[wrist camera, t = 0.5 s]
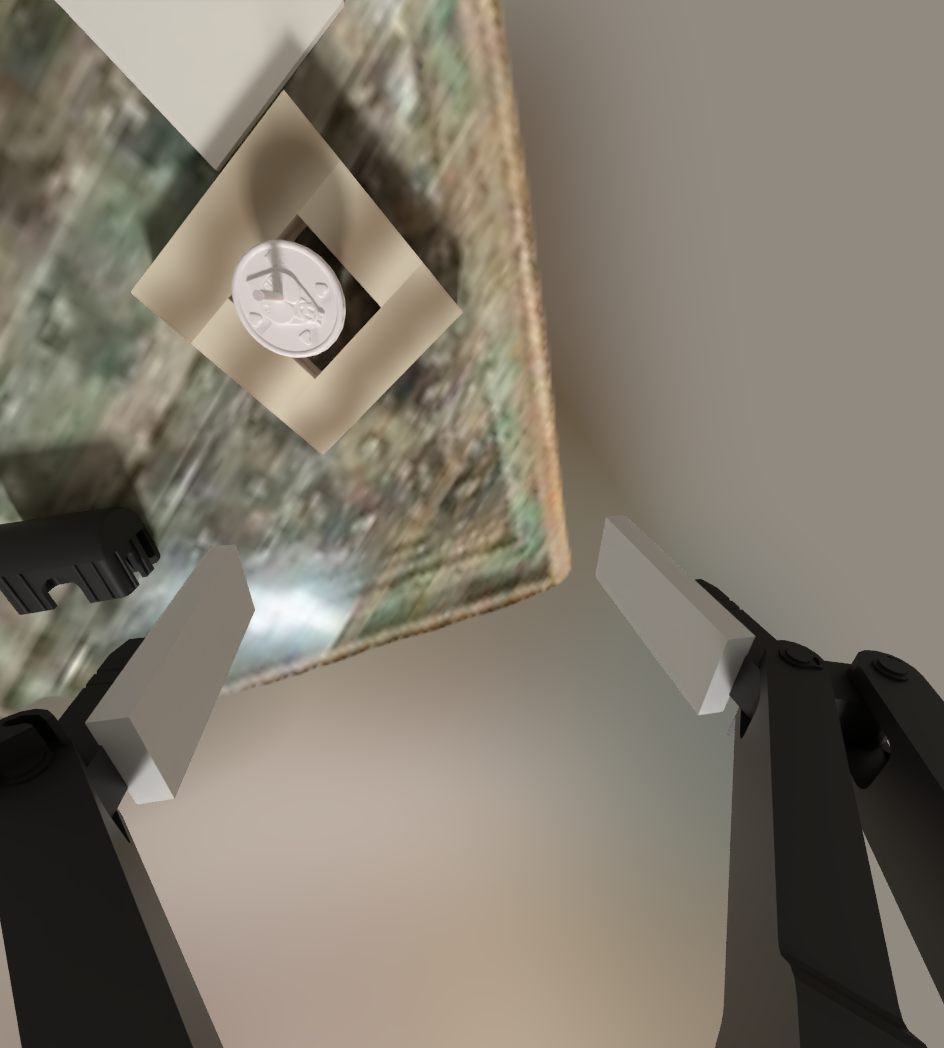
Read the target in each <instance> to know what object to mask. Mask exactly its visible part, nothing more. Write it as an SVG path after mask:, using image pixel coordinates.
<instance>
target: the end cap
mask: <svg viewBox="0 0 944 1048" xmlns="http://www.w3.org/2000/svg"><path fill="white" fill-rule="evenodd" d="M159 559H160V554H159V552H158V550H157V548H156V546H155V544H154V542H153V541H152V539H151V537H150V535H149V533H148V531H147V529H146V527H145V525H144V524H143V523H142V521H141V520H140V519H139V518H138V517H137V516H136V515H135V514H134V513H133V512H131V511H130V510H128V509H125V508H122V507H112V508H106V509H99V510H92V511H86V512H79V513H73V514H66V515H60V516H53V517H46V518H40V519H33V520H27V521H20V522H14V523H7V524H0V590H1V592H2V593H3V594H4V595H5V597H6V598H7V599H8V601H9V602H10V603H11V604H12V606H13V607H14V608H15V610H16V611H17V612H18V613H19V614H20V615H23V614H29V613H35V612H41V611H47V610H52V609H55V608H56V607H57V604H56V603H55V602H54V600H53V599H52V597H51V596H50V595H49V593H48V592H49V591H50V590H51V589H52V588H54V587H55V586H57V585H59V584H65V583H71V582H74V583H75V584H77V585H78V586H79V587H80V588H81V590H82V591H83V593H84V594H85V596H86V597H87V599H88V600H89V602H90V603H93V602H99V601H105V600H111V599H117V598H122V597H125V596H127V595H129V594H131V593H132V592H133V591H134V590H135V589H136V588H137V587H138V586H139V585H140V584H139V583H138V581H137V579H136V578H135V576H134V574H133V572H137V571H139V572H140V574H141V576H142V577H147V576H148V575H149V574H150V573H151V572H152V571H153V569H154V567H153V565H152V564H154V563H156V562H157V561H158V560H159Z"/></svg>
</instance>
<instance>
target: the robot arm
mask: <svg viewBox="0 0 944 1048" xmlns="http://www.w3.org/2000/svg"><path fill="white" fill-rule="evenodd" d="M596 578H597V579H598V581H599V582H600V584H601V585H602V586H603V588H604V589H605V590H606V592H607V593H608V594H609V596H610V597H611V598H612V600H613V601H614V602H615V604H616V605H617V607H618V608H619V609H620V611H621V612H622V613H623V615H624V616H625V617H626V619H627V620H628V621H629V623H630V624H631V625H632V627H633V628H634V630H635V631H636V632H637V634H638V635H639V636H640V638H641V639H642V640H643V642H644V643H645V644H646V646H647V647H648V648H649V650H650V651H651V652H652V654H653V655H654V656H655V658H656V659H657V660H658V662H659V663H660V665H661V666H662V667H663V669H664V670H665V671H666V673H667V674H668V675H669V677H670V678H671V679H672V681H673V682H674V684H675V685H676V686H677V687H678V689H679V690H680V692H681V693H682V694H683V696H684V697H685V698H686V699H687V701H688V702H689V704H690V705H691V706H692V708H693V709H694V711H695V712H696V713H697V715H703V714H710V713H716V712H722V711H723V710H724V708H725V706H726V703H727V701H728V699H729V696H731V698H732V699H733V700H734V701H735V702H736V703H737V705H738V706H739V709H738V711H737V713H736V715H735V718H734V720H733V722H732V724H731V726H730V729H729V731H728V735H730V736H732V735H733V732H734V731H735V741H734V766H733V767H734V768H733V791H732V793H733V794H732V817H731V842H730V867H729V892H728V919H727V942H726V968H725V992H724V993H725V994H724V1010H723V1018H722V1024H721V1027H720V1031H719V1035H718V1039H717V1042H716V1047H715V1048H927V1046H926V1045H925V1044H924V1043H923V1042H922V1041H920V1040H919V1039H918V1038H917V1037H915V1035H913V1034H912V1033H911V1032H910V1031H909V1030H908V1029H907V1027H906V1025H905V1023H904V1022H903V1019H902V1016H901V1012H900V1009H899V1005H898V1000H897V995H896V990H895V985H894V981H893V976H892V971H891V966H890V962H889V957H888V952H887V947H886V942H885V938H884V933H883V928H882V923H881V919H880V913H879V909H878V904H877V899H876V894H875V890H874V885H873V880H872V875H871V871H870V866H869V861H868V856H867V852H866V846H865V842H864V837H863V832H864V834H865V836H866V838H867V840H868V842H869V845H870V847H871V849H872V851H873V853H874V855H875V857H876V860H877V862H878V864H879V866H880V868H881V870H882V872H883V874H884V877H885V879H886V881H887V883H888V885H889V887H890V889H891V892H892V894H893V896H894V898H895V900H896V902H897V904H898V907H899V909H900V911H901V913H902V915H903V917H904V920H905V922H906V924H907V926H908V928H909V930H910V932H911V935H912V937H913V939H914V941H915V943H916V945H917V947H918V949H919V952H920V954H921V956H922V958H923V960H924V962H925V964H926V967H927V969H928V971H929V973H930V975H931V977H932V979H933V981H934V984H935V986H936V988H937V990H938V992H939V994H940V996H941V999H942V1001H943V1003H944V701H943V700H942V699H941V698H940V696H939V695H938V694H937V693H936V692H935V690H934V689H933V688H932V687H931V685H930V684H929V683H928V682H927V680H926V679H925V678H924V677H923V676H922V675H921V674H920V673H919V672H918V671H917V670H916V669H915V668H914V667H912V666H910V665H909V664H907V663H906V662H904V661H903V660H901V659H899V658H897V657H894V656H892V655H889V654H885V653H882V652H878V651H870V650H864V651H861V652H859V653H858V654H857V656H856V657H855V659H854V661H853V662H852V664H845V663H838V662H830V661H824V660H823V659H822V658H821V657H820V656H819V655H818V654H816V653H815V652H813V651H812V650H810V649H808V648H807V647H805V646H802V645H800V644H797V643H795V642H790V641H785V640H776V639H775V638H774V637H772V636H771V635H770V634H769V633H768V632H767V631H766V630H765V629H763V628H762V627H761V626H760V625H759V624H758V623H756V621H754V620H753V619H752V618H751V617H750V616H749V615H748V614H746V613H745V612H744V611H743V610H740V609H739V606H737V605H736V604H735V603H734V602H733V601H730V600H729V598H728V597H727V596H726V595H725V594H724V593H723V592H722V591H720V590H719V589H718V588H717V587H715V586H713V585H711V584H709V583H708V582H706V581H704V580H702V579H696V580H694V579H693V578H692V577H691V576H690V575H689V574H688V573H686V572H685V571H684V570H683V569H682V568H681V567H680V566H678V564H677V563H676V562H674V561H673V560H672V559H671V558H670V557H669V556H668V555H667V554H666V553H665V552H664V551H663V550H661V549H660V548H659V547H658V546H657V545H656V544H655V543H654V542H653V541H652V540H651V539H650V538H648V537H647V536H646V535H645V534H644V533H643V532H642V531H641V530H640V529H639V528H638V527H637V526H635V525H634V524H633V523H632V522H631V521H630V520H629V519H628V518H627V517H626V516H612V517H606V520H605V525H604V531H603V537H602V542H601V548H600V553H599V559H598V565H597V570H596ZM254 611H255V609H254V605H253V602H252V598H251V595H250V592H249V588H248V585H247V581H246V578H245V575H244V571H243V568H242V564H241V561H240V558H239V554H238V551H237V548H236V545H223V546H211V547H210V548H209V549H208V551H207V552H206V554H205V555H204V556H203V558H202V559H201V561H200V562H199V563H198V565H197V566H196V568H195V569H194V570H193V572H192V573H191V575H190V576H189V577H188V579H187V580H186V582H185V583H184V584H183V586H182V587H181V589H180V590H179V591H178V593H177V594H176V596H175V597H174V599H173V600H172V601H171V603H170V604H169V606H168V607H167V608H166V610H165V611H164V613H163V614H162V615H161V617H160V618H159V620H158V621H157V622H156V624H155V625H154V627H153V628H152V629H151V631H150V632H149V634H148V635H147V636H146V637H145V638H136V639H129V640H128V641H127V642H125V643H124V644H123V645H121V646H120V647H119V648H117V649H116V650H115V651H114V652H112V653H111V654H110V655H109V656H108V657H107V659H106V660H105V661H104V662H103V664H102V665H101V666H100V668H99V669H98V670H97V674H94V675H93V677H92V678H91V679H90V680H89V682H88V683H87V684H86V688H83V689H82V691H81V692H80V693H79V694H78V696H77V697H76V698H75V700H74V701H73V702H72V703H71V705H70V706H69V707H68V709H67V710H66V711H65V712H64V714H63V715H62V716H61V718H60V719H59V720H58V721H57V719H56V718H55V716H54V715H53V714H52V713H51V712H49V711H48V710H43V709H32V710H27V711H22V712H18V713H16V714H13V715H11V716H8V717H5V718H3V719H1V720H0V921H1V927H2V933H3V939H4V945H5V951H6V956H7V963H8V969H9V974H10V980H11V986H12V992H13V998H14V1004H15V1010H16V1016H17V1021H18V1028H19V1034H20V1040H21V1045H22V1048H223V1046H222V1044H221V1041H220V1039H219V1037H218V1034H217V1032H216V1030H215V1028H214V1025H213V1023H212V1021H211V1018H210V1016H209V1014H208V1012H207V1009H206V1007H205V1005H204V1002H203V1000H202V998H201V995H200V993H199V991H198V988H197V986H196V984H195V982H194V979H193V977H192V975H191V972H190V970H189V968H188V966H187V963H186V961H185V959H184V956H183V954H182V952H181V950H180V947H179V945H178V943H177V940H176V938H175V936H174V933H173V931H172V929H171V927H170V924H169V922H168V920H167V917H166V915H165V913H164V910H163V908H162V906H161V904H160V901H159V899H158V897H157V895H156V892H155V890H154V887H153V885H152V883H151V881H150V878H149V876H148V874H147V871H146V869H145V867H144V865H143V863H142V860H141V858H140V855H139V853H138V851H137V848H136V846H135V844H134V842H133V839H132V837H131V835H130V832H129V830H128V828H127V826H126V823H125V821H124V819H123V816H122V815H121V813H120V812H119V810H118V809H117V808H118V806H119V804H120V802H121V800H122V798H123V796H124V794H125V792H126V791H127V790H128V791H129V793H130V794H131V796H132V798H133V799H134V801H135V802H136V804H143V803H149V802H155V801H162V800H168V799H174V798H175V796H176V793H177V791H178V789H179V787H180V784H181V782H182V780H183V777H184V775H185V773H186V770H187V768H188V766H189V763H190V761H191V758H192V756H193V754H194V751H195V749H196V747H197V744H198V742H199V740H200V737H201V735H202V733H203V730H204V728H205V726H206V723H207V721H208V719H209V716H210V714H211V712H212V709H213V707H214V705H215V702H216V700H217V698H218V695H219V693H220V691H221V688H222V686H223V684H224V681H225V679H226V677H227V674H228V672H229V670H230V667H231V665H232V663H233V660H234V658H235V655H236V653H237V651H238V648H239V646H240V644H241V641H242V639H243V637H244V634H245V632H246V630H247V627H248V625H249V623H250V620H251V618H252V616H253V613H254ZM887 740H889V743H890V746H889V744H888V743H887ZM862 830H863V832H862Z"/></svg>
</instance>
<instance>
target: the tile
mask: <svg viewBox="0 0 944 1048" xmlns="http://www.w3.org/2000/svg"><path fill="white" fill-rule="evenodd" d="M55 1H56V2H57V3H58V4H59V5H60V6H61V7H62V8H63V9H64V10H65V11H66V12H67V13H68V14H69V16H70V17H71V18H72V19H73V20H74V21H75V22H76V23H77V24H78V25H79V26H80V27H81V28H82V29H83V30H84V31H85V32H86V34H87V35H88V36H89V37H90V38H91V39H92V40H93V41H94V42H95V43H96V44H97V45H98V46H99V47H100V48H101V49H102V50H103V52H104V53H105V54H106V55H107V56H108V57H109V58H110V59H111V60H112V61H113V62H114V63H115V64H116V65H117V66H118V67H119V69H120V70H121V71H122V72H123V73H124V74H125V75H126V76H127V77H128V78H129V79H130V80H131V81H132V82H133V83H134V84H135V85H136V87H137V88H138V89H139V90H140V91H141V92H142V93H143V94H144V95H145V96H146V97H147V98H148V99H149V100H150V101H151V102H152V103H153V105H154V106H155V107H156V108H157V109H158V110H159V111H160V112H161V113H162V114H163V115H164V116H165V117H166V118H167V119H168V120H169V121H170V123H171V124H172V125H173V126H174V127H175V128H176V129H177V130H178V131H179V132H180V133H181V134H182V135H183V136H184V137H185V138H186V140H187V141H188V142H189V143H190V144H191V145H192V146H193V147H194V148H195V149H196V150H197V151H198V152H199V153H200V154H201V155H202V156H203V158H204V159H205V160H206V161H207V162H208V163H209V164H210V165H211V166H212V167H213V168H214V169H215V170H216V171H217V172H219V171H220V170H221V169H222V167H223V166H224V165H225V164H226V162H227V161H228V160H229V158H230V157H231V156H232V154H233V153H234V152H235V150H236V149H237V148H238V146H239V145H240V144H241V142H242V141H243V140H244V138H245V137H246V136H247V134H248V133H249V132H250V130H251V129H252V128H253V126H254V125H255V124H256V122H257V121H258V120H259V118H260V117H261V116H262V114H263V113H264V112H265V110H266V109H267V108H268V107H269V105H270V104H271V103H272V101H273V100H274V99H275V97H276V96H277V95H278V93H279V92H280V91H281V89H282V88H283V87H284V85H285V84H286V83H287V81H288V80H289V79H290V77H291V76H292V75H293V73H294V72H295V71H296V69H297V68H298V67H299V65H300V64H301V63H302V61H303V60H304V59H305V57H306V56H307V55H308V54H309V52H310V51H311V50H312V48H313V47H314V46H315V44H316V43H317V42H318V40H319V39H320V38H321V36H322V35H323V34H324V32H325V31H326V30H327V28H328V27H329V26H330V24H331V23H332V22H333V20H334V19H335V18H336V16H337V15H338V14H339V12H340V11H341V10H342V8H343V7H344V6H345V5H344V0H55Z"/></svg>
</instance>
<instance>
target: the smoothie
mask: <svg viewBox="0 0 944 1048" xmlns="http://www.w3.org/2000/svg"><path fill="white" fill-rule="evenodd" d="M232 296H233V302H234V305H235V309H236V311H237V314H238V316H239V318H240V320H241V322H242V324H243V325H244V327H245V328H246V330H247V331H248V332H249V333H250V335H251V336H252V337H253V338H254V339H255V340H256V341H258V342H259V343H260V344H261V345H263V346H264V347H266V348H267V349H269V350H271V351H273V352H275V353H277V354H280V355H283V356H287V357H294V358H301V357H304V358H305V357H309V356H314V355H318V354H320V353H321V352H323V351H325V350H327V349H328V348H329V347H330V346H331V345H332V344H333V343H334V342H335V341H336V340H337V339H338V337H339V335H340V333H341V331H342V329H343V326H344V321H345V315H346V308H345V297H344V294H343V290H342V287H341V284H340V282H339V280H338V278H337V277H336V275H335V273H334V271H333V269H332V268H331V267H330V266H329V265H328V264H327V263H326V262H325V260H324V259H323V258H322V257H321V256H319V255H318V254H316V253H315V252H314V251H312V250H311V249H309V248H308V247H305V246H303V245H300V244H298V243H295V242H291V241H286V240H268V241H264V242H261V243H258V244H256V245H254V246H253V247H251V248H250V249H249V250H247V251H246V252H245V253H244V254H243V256H242V257H241V258H240V260H239V262H238V263H237V265H236V268H235V271H234V274H233V279H232Z"/></svg>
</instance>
